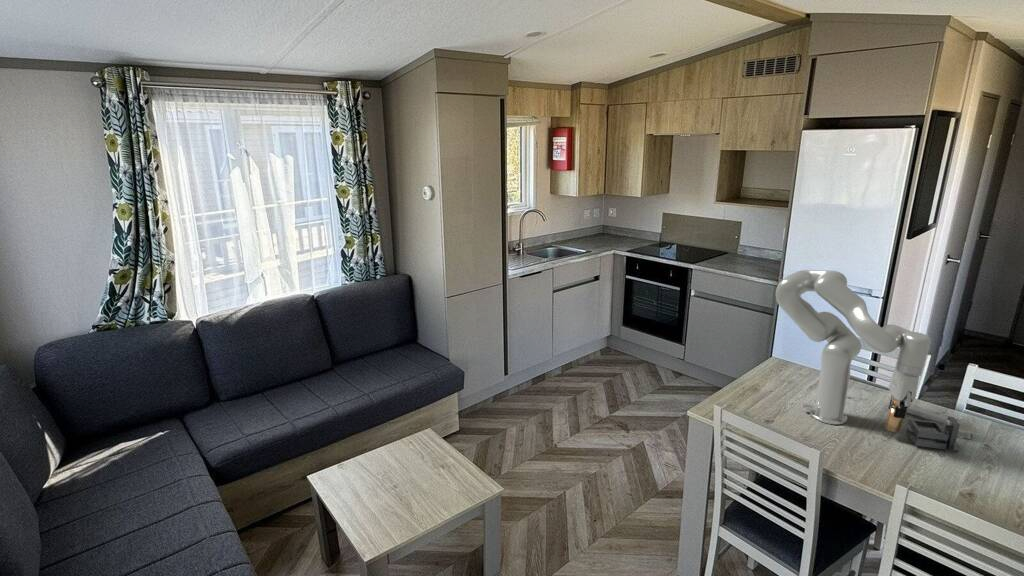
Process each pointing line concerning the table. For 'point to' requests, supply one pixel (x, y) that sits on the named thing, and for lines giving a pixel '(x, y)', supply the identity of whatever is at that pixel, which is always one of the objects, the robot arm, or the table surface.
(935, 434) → the collar bracket
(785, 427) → the table surface
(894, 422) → the copper tube
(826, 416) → the robot arm
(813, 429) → the table surface
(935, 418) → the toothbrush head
